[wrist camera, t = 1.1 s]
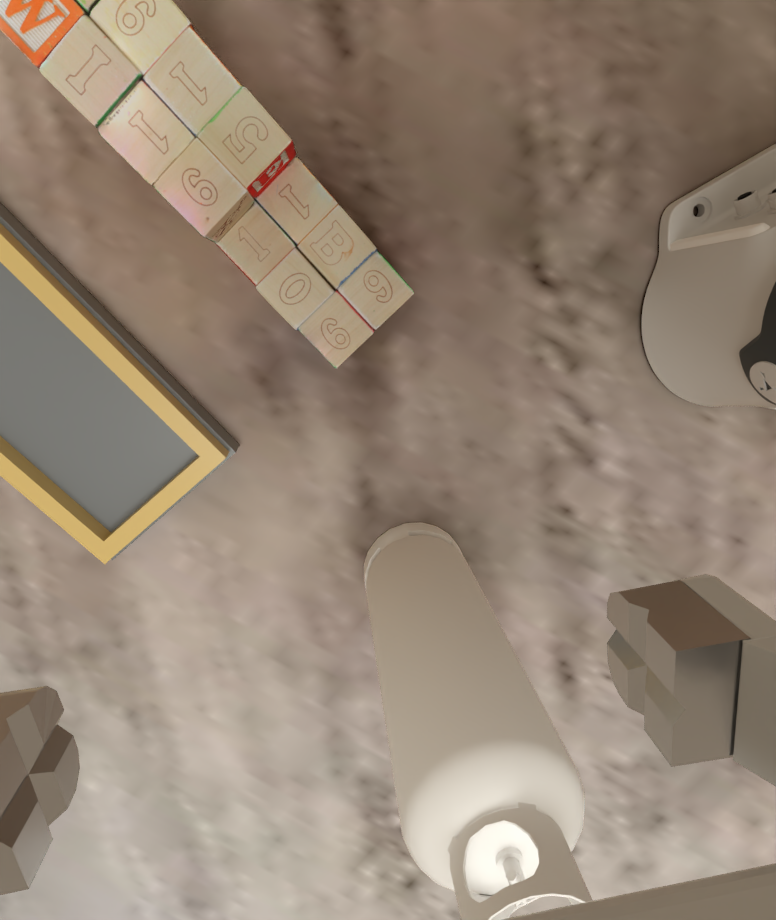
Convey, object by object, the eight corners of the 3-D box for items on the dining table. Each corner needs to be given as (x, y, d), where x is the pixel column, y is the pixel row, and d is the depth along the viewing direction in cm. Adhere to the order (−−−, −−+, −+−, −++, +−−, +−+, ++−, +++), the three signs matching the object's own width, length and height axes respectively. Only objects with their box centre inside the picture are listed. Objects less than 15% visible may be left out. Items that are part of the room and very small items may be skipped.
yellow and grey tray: (-85, 116, 34) (-129, 98, 31) (239, 444, 42) (232, 458, 39) (-218, 253, 36) (-273, 249, 32) (121, 548, 43) (104, 569, 40)
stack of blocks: (396, 292, 41) (426, 296, 29) (331, 354, 41) (335, 382, 30) (156, 15, 35) (72, -123, 23) (85, 94, 35) (-32, -2, 24)
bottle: (435, 504, 45) (599, 815, 19) (479, 583, 48) (680, 959, 21) (344, 553, 46) (378, 929, 19) (392, 629, 48) (483, 1057, 21)
